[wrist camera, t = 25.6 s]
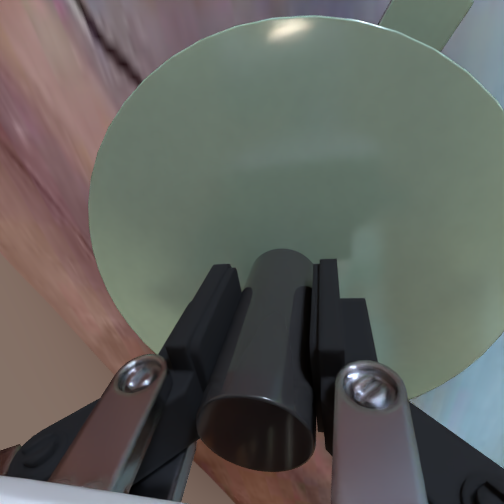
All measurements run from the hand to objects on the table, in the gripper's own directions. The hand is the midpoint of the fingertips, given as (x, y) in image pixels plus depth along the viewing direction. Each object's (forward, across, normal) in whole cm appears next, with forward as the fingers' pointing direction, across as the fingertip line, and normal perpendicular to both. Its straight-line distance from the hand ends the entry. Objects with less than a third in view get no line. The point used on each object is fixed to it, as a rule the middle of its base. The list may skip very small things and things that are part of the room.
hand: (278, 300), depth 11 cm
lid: (+2, 0, 0) cm, 2 cm away
